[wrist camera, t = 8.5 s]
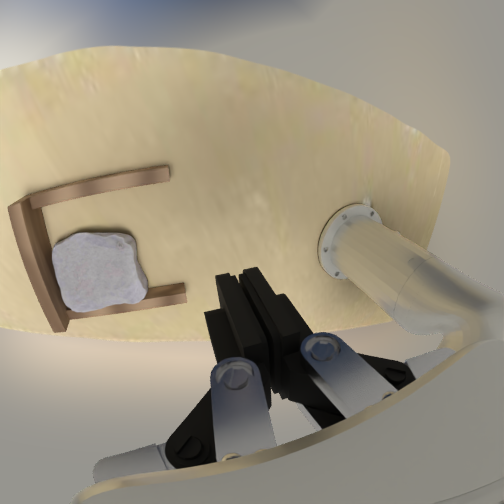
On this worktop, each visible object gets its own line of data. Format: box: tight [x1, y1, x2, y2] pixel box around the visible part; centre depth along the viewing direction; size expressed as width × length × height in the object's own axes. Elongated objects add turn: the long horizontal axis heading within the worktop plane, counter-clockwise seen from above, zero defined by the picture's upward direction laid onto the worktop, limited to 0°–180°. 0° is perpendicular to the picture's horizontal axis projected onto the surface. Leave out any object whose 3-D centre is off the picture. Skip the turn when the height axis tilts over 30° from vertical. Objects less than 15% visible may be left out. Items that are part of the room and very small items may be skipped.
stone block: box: [52, 232, 148, 312], centre depth 29 cm, size 12×5×10 cm
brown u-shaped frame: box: [8, 165, 187, 333], centre depth 28 cm, size 19×17×5 cm
